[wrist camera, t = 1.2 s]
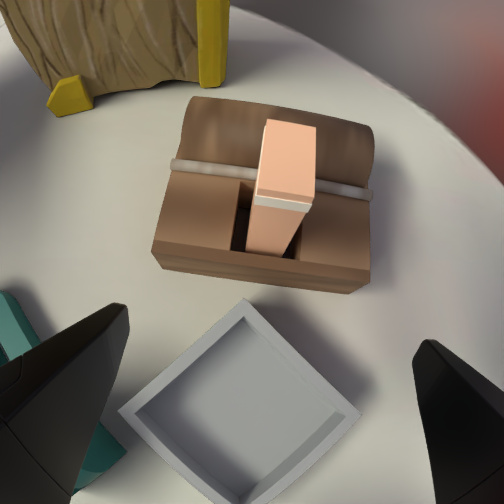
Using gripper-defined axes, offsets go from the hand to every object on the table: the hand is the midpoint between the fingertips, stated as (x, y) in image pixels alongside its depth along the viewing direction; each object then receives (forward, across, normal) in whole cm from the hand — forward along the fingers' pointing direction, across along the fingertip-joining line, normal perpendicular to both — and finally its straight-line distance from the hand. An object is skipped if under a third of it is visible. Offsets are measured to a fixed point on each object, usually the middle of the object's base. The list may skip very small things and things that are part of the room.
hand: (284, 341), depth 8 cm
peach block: (+15, 0, +4) cm, 16 cm away
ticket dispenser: (+17, 0, +2) cm, 17 cm away
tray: (+6, 0, +13) cm, 14 cm away
